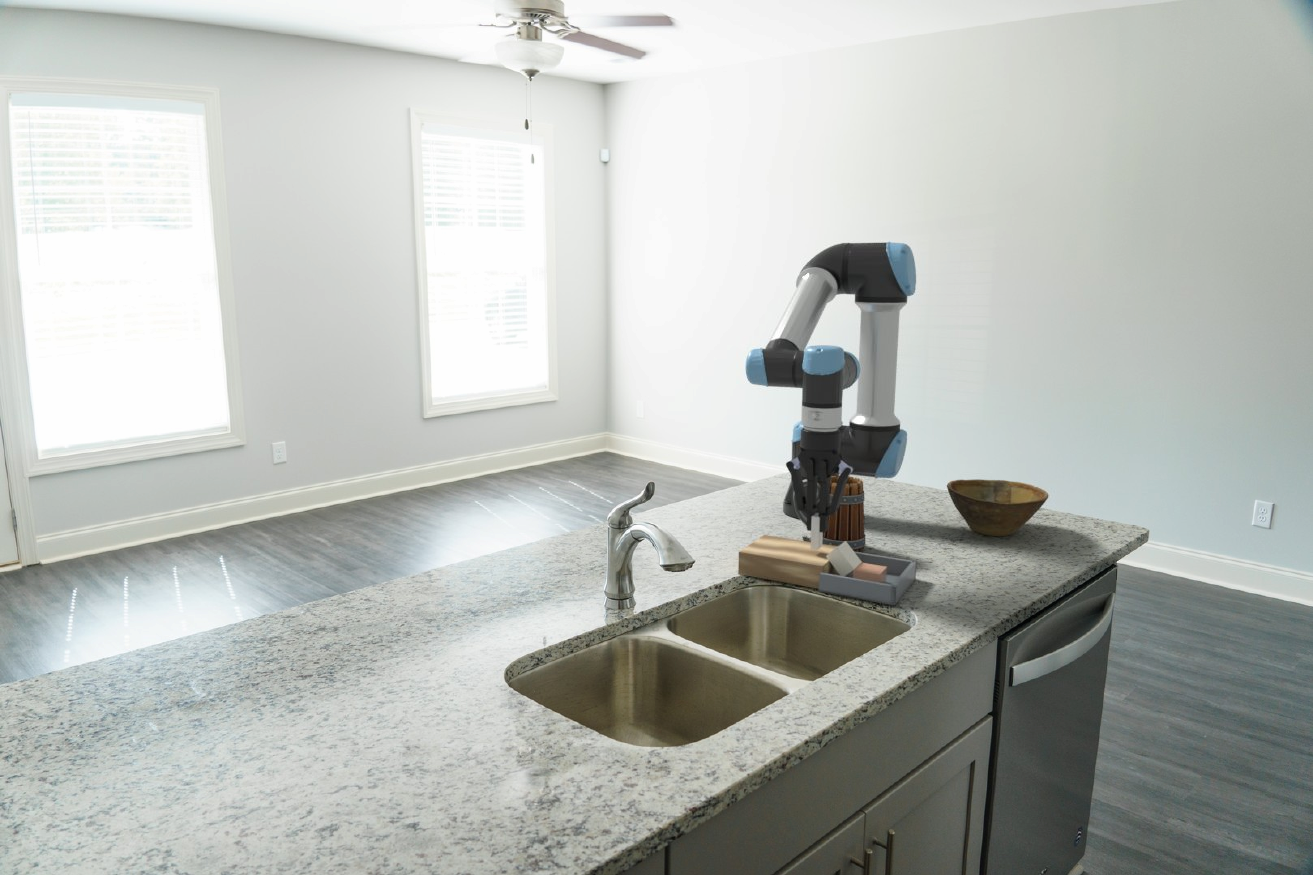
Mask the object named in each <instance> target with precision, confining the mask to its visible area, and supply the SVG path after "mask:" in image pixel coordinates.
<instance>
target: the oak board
mask: <svg viewBox="0 0 1313 875" xmlns="http://www.w3.org/2000/svg"><path fill="white" fill-rule="evenodd" d="M836 547H838V546H832V545H826V544H822V547H820V548H819V549H818V550H816V549H811V542H807V541H803V540H799V539H794V538H793V539H792V538H788V537H787V538H786V537H783V536H782V537H781V536H774V535H768V534H763V535H762V536H760V537H759V538H757V539H756V540H754V541H753V542H751V543H749V544H748V545H747V546H746V547H744V548H742V549H741V550H740V551H738V568H737V569H738V572H737V573H738V575H743V576H748V577H749V576H750V577H755V578H759V579H765V580H770V581H775V582H781V583H787V584H790V585H791V584H792V585H797V586H802V587H807V588H808V587H809V588H814V589H818V590H819V578H820V573H821V572H822V573H827V574H833V575H835V574H836V573H837V570H836V569H835V568H834V566H833V565H832V564H831V562H830V561H829V560H828V558H827V557H826V556H827V555H828V554H829V553H830V552H831V551H832V550H834V549H835V548H836Z"/></svg>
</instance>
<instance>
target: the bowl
mask: <svg viewBox="0 0 1313 875" xmlns="http://www.w3.org/2000/svg"><path fill="white" fill-rule="evenodd" d="M946 488H947V491H948V494H949V496H950V499H951V501H952V503H953V505H954V507H955V509H956V510H957V511H958V513H959V514H960V515H961V517H962V518H963V520H964V521H965V522H966V524H967V525H968V528H969V529H970V530H971V531H973V532H974V533H978V534H982V535H986V536H992V537H1006V536H1010V535H1011V536H1012V535H1013V534H1014V533H1015V532H1016V531H1018V529H1021V528H1022V527H1023V526H1024V525H1025V524H1026V523H1027V522H1028V521H1029V520H1030V519H1032V518H1033V516H1034V515H1036V513H1037V512H1038V511H1039V510H1040V509H1041V508H1042V506H1043V505H1044V504H1045V503H1046V501H1047V500H1048V498H1049V494H1048V492H1047V491H1046V490H1044V489H1042V488H1040V487H1038V486H1035V485H1032V484H1029V483H1025V482H1019V481H1010V480H1004V479H1003V480H1002V479H955V480H950V481H949V482H948V483H947V485H946Z"/></svg>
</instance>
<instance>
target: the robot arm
mask: <svg viewBox="0 0 1313 875" xmlns="http://www.w3.org/2000/svg"><path fill="white" fill-rule="evenodd" d="M916 285H917V270H916V262H915V256H914V253H913V250H912V248H911V247H910V246H909V245H908V244H907V243H904V242H891V241H887V242H842V243H837V244H834V245H831V246H828V247H827V248H825V249H823V250H822V251H820V252H818V253H817V254H816V255H814V256H813V257H812V258H811V259H810V260H809V261H807V263H806V264H805V265H804V266H803V267H802V268H801V270H800V272H799V274H798V276H797V277H796V281H795V286H796V289H795V291H794V293H793V295H792V297H791V299H790V301H789V303H788V304H787V307H786V309H785V311H784V312H783V314H782V316H781V318H780V320H779V322H778V324H777V326H776V328H775V329H774V331H773V333H772V335H771V337H770V339H769V341H768V343H767V345H765V348H762V347H760V348H753V349H751V350H750V351H749V352H748V354H747V356H746V361H745V374H746V379H747V381H748V382H749V383H750V384H752V385H756V386H763V387H773V388H774V387H776V388H796V389H802V392H801V393H802V396H801V419H800V421H798V422H796V424H794V425H793V429H792V439H791V460H789V461H786V463H785V465H786V468H787V470H788V471H789V473H790V483H789V485H788V488H787V490H786V494H785V497H784V499H783V502H782V512H783V513H784V514H785V515H787V516H789V517H791V518H792V517H793V518H796V519H800V518H799V517H798V515H797V513H796V511H795V507H794V501H793V493H795V498H796V503H797V508H798V510H799V511H801V512H802V514H803V515H804V516H805V517H806V518H807V526H806V530H807V531H810V537H811V549H816V550H818V549H819V548H820V547H822V539H823V533H825V532H826V531H827V529H828V516H829V515H834V514H835V513H836V512H837V511H838V509H839V506H840V503H841V499H842V496H843V493H844V489H845V486H846V483H847V479H848V477H849V476H850V475H851V476H858V477H859V476H860V477H868V478H874V479H892V478H895V477H896V476H898V474H899V472H900V470H901V468H902V466H903V465H902V464H903V462H904V459H905V458H904V457H905V454H906V450H907V449H906V448H907V446H908V445H907V443H908V433H907V431H906V430H904V428H903V429H902V428H901V420H900V419H899V418H898V416H896V414H895V404H896V403H895V402H896V400H895V399H896V385H897V384H896V383H897V366H898V364H897V363H898V349H899V348H898V346H899V332H900V331H899V329H900V312H901V310H902V309H903V308H904V307H905V306H906V305H907V304H908V297H910V296H913V295H914V294H915V293H916ZM837 295H854V304H855V305H856V306H857V307H858V308H859V309H860V329H859V348H858V350H859V352H858V354H859V355H858V358H857V356H855V354H853V353H852V352H849V351H847V350H844V348H843V347H841V346H838V345H822V344H820V345H809V346H807V345H808V344H809V341H810V340H811V338H812V335H813V333H814V332H815V329H816V328H817V325H818V323H819V321H820V319H821V318H822V315H823V313H824V311H825V308H826V306H827V304H828V303H830V302H831V301H833V300H834V299H835V297H836V296H837ZM856 381H857V394H856V396H857V397H856V412H855V414H854V415H853V416H851V417H850V418H849V424H848V425H844V424H843V423H844V422H843V419H842V418H843V415H842V414H843V394H844V393H843V392H844V390H846V389H847V390H848V389H849V388H851V386H852V387H853V385H854V384H855V382H856ZM831 476H836V477H838V476H839V478H838V481H837V484H836V488H835V491H834V495H833V498H832V501H831V505H830V508H829V504H830V480H831ZM806 479H807V486H804V485H803V480H806ZM817 483H818V484H819V485H820V501H819V502H818V503H817ZM816 503H817V504H816Z"/></svg>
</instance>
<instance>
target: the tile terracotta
mask: <svg viewBox="0 0 1313 875" xmlns="http://www.w3.org/2000/svg"><path fill="white" fill-rule="evenodd" d="M886 574H887V567H885V566H879V565H873V564H867V563H860V564H859V565H858V566H857V567H856V568H855V569H854V570H853V578H856V579H862V580H867V581H873V582H879V583H884V584H885V582H886Z"/></svg>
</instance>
